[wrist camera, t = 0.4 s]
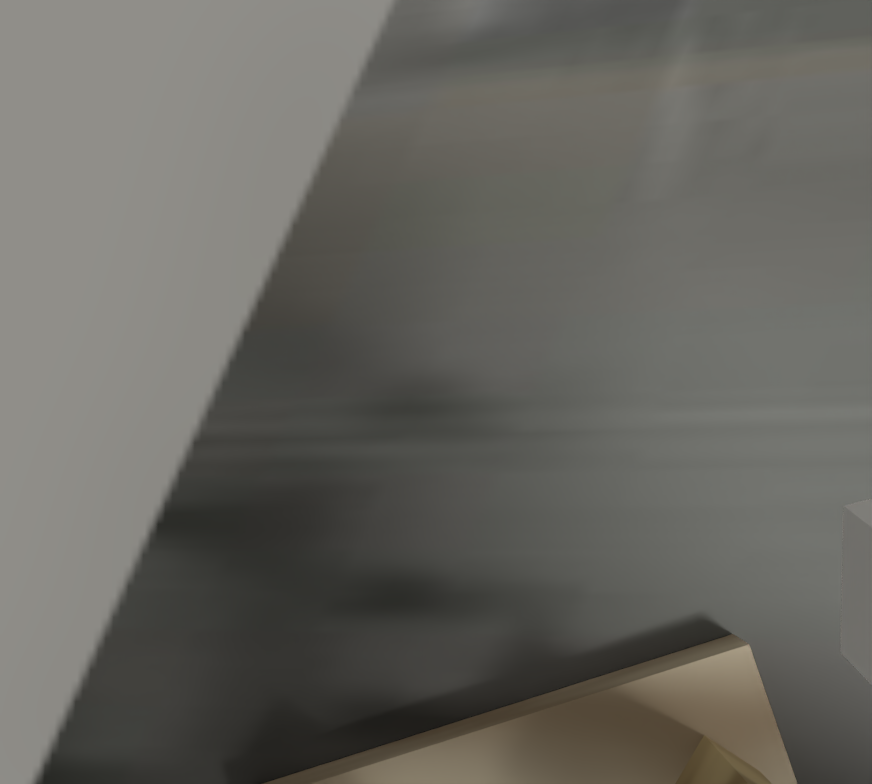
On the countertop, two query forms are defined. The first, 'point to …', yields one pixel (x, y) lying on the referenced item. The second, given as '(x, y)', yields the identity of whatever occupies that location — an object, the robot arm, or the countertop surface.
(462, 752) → the lock plate
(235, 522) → the countertop surface
